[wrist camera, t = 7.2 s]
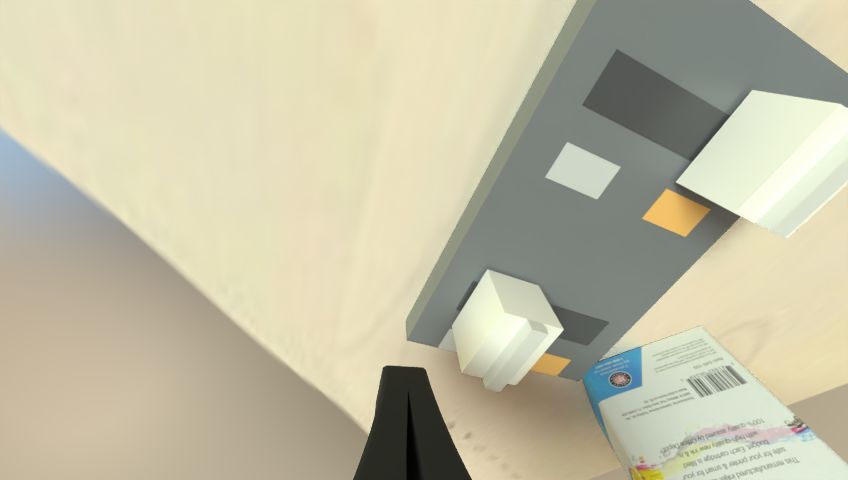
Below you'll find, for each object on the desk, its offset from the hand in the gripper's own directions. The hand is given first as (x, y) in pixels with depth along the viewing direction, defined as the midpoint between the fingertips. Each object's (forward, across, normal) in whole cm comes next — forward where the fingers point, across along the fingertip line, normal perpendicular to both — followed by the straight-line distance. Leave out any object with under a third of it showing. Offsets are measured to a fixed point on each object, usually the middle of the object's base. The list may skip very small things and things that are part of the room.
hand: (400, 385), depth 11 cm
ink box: (+8, -20, +8) cm, 23 cm away
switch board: (+8, -9, -4) cm, 12 cm away
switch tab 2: (+6, -13, -8) cm, 17 cm away
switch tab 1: (+6, -5, +1) cm, 8 cm away
